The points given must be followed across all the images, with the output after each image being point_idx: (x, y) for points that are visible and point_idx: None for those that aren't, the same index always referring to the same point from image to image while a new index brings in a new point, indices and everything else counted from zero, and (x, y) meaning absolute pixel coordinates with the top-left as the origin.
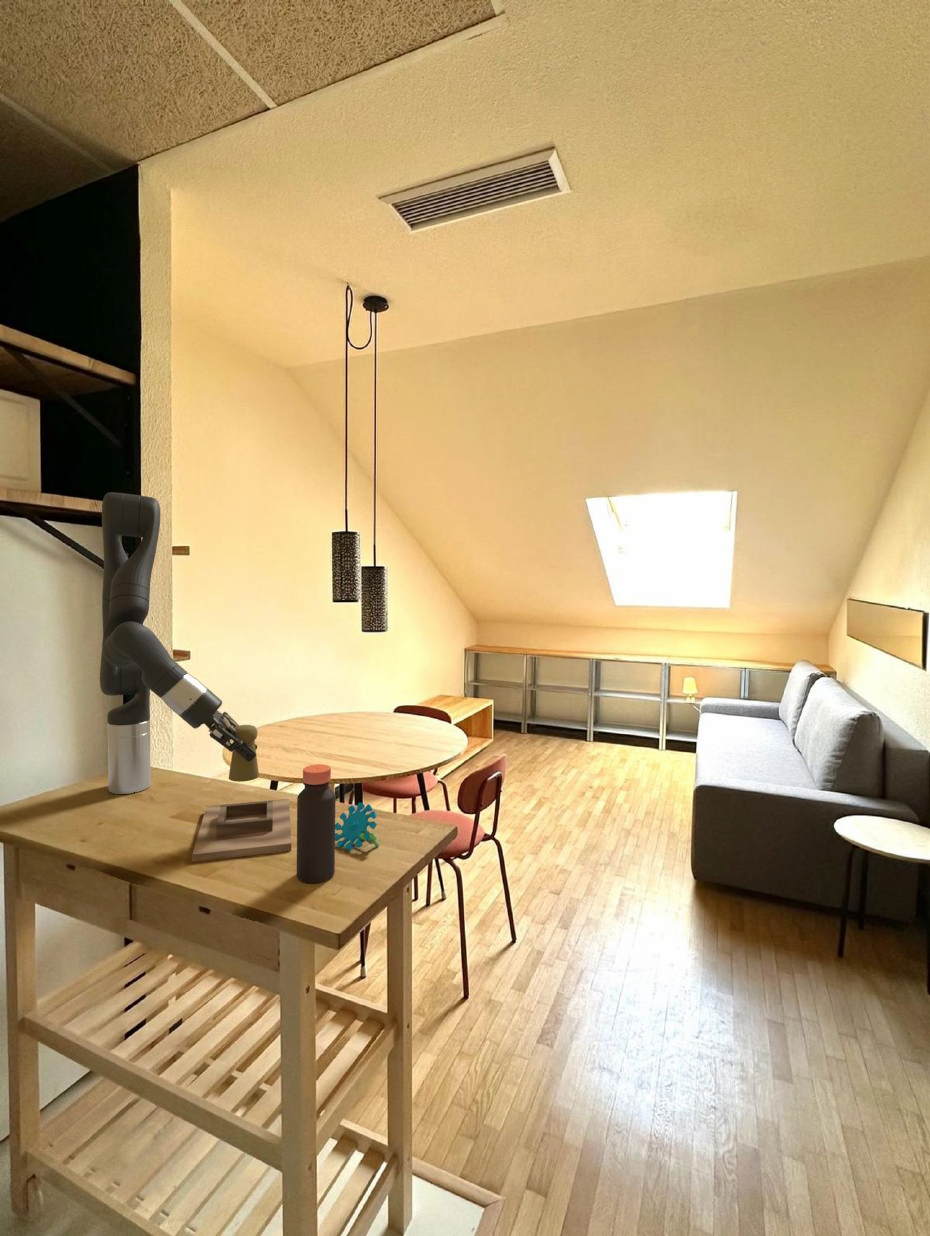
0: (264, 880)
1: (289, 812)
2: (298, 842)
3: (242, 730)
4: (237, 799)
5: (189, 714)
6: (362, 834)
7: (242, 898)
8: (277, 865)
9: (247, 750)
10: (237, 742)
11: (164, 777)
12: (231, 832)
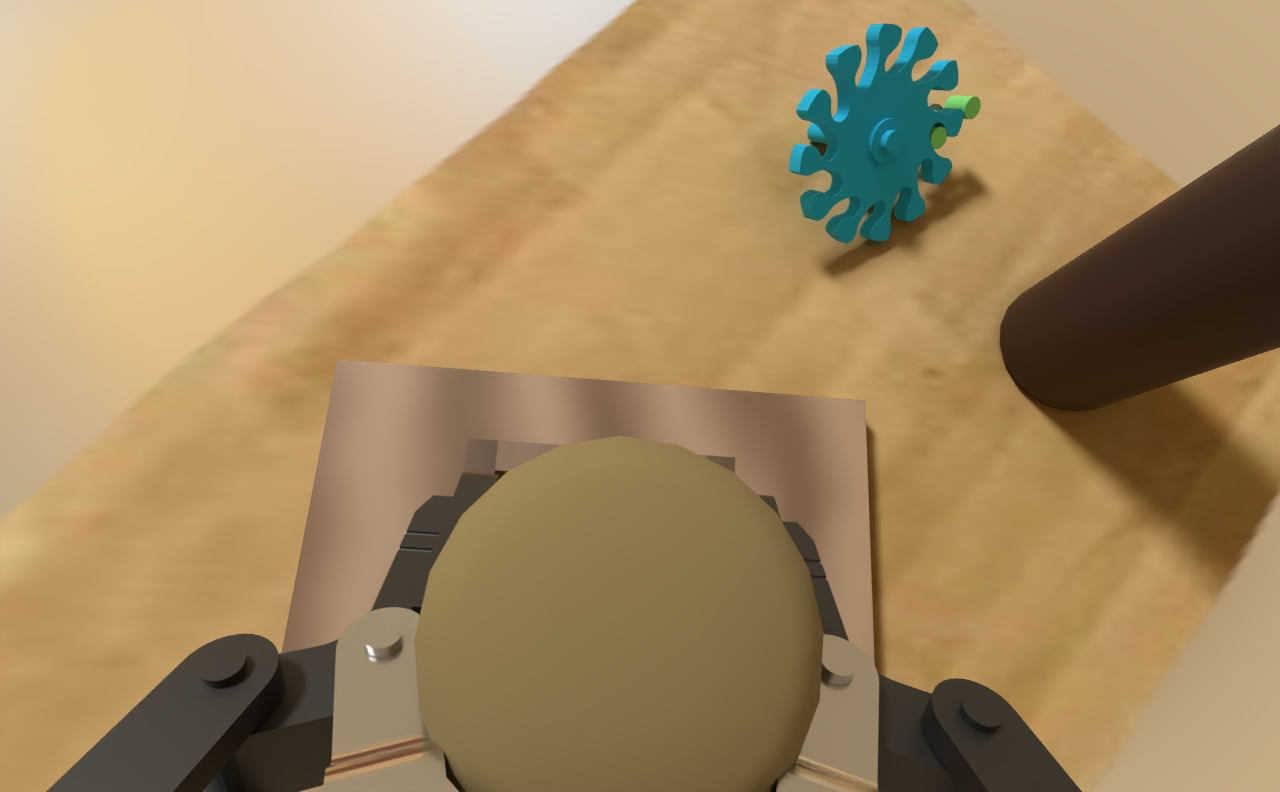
0: (1067, 524)
1: (528, 374)
2: (1220, 366)
3: (811, 676)
4: (134, 629)
5: None
6: (939, 134)
7: (1179, 605)
8: (962, 470)
9: (826, 585)
10: (1023, 734)
11: None
12: None
